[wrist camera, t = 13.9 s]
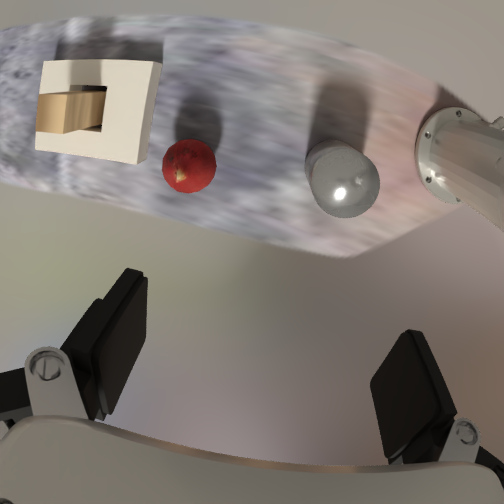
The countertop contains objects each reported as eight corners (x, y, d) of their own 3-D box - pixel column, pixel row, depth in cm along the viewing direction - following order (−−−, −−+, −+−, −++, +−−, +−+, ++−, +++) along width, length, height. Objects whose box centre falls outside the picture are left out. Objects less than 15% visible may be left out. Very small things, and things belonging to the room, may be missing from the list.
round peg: (340, 129, 33) (357, 136, 26) (369, 175, 35) (391, 195, 28) (293, 159, 35) (297, 175, 28) (324, 204, 38) (335, 230, 30)
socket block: (162, 63, 31) (153, 61, 28) (146, 159, 36) (136, 164, 34) (57, 61, 30) (44, 61, 28) (48, 145, 36) (35, 149, 33)
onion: (164, 152, 36) (138, 167, 29) (203, 125, 34) (184, 133, 27) (191, 191, 38) (172, 214, 31) (230, 166, 36) (219, 184, 29)
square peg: (113, 91, 33) (67, 94, 24) (108, 122, 34) (62, 134, 26) (87, 89, 32) (38, 94, 23) (83, 119, 34) (35, 131, 25)
